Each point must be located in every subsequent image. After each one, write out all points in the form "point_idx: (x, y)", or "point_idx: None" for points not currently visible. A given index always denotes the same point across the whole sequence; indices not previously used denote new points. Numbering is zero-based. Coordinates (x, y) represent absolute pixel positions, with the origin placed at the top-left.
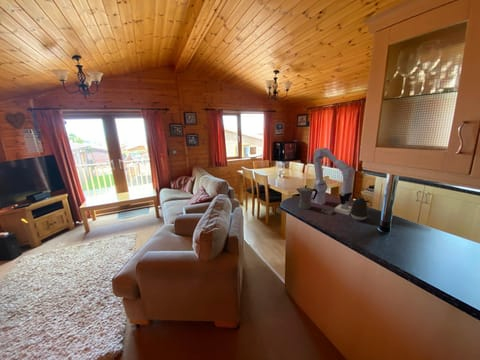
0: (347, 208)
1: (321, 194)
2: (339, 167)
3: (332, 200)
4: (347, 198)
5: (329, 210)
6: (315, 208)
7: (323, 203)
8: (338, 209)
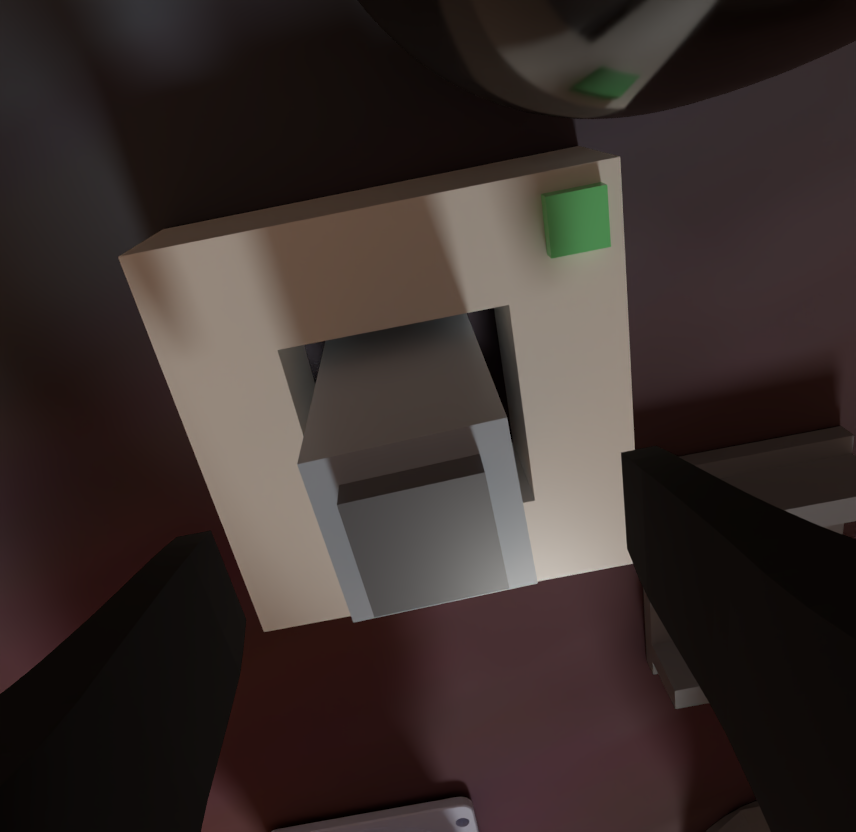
0: (384, 356)
1: None
2: None
3: None
4: (189, 663)
5: None
6: (698, 762)
7: (397, 819)
8: None
